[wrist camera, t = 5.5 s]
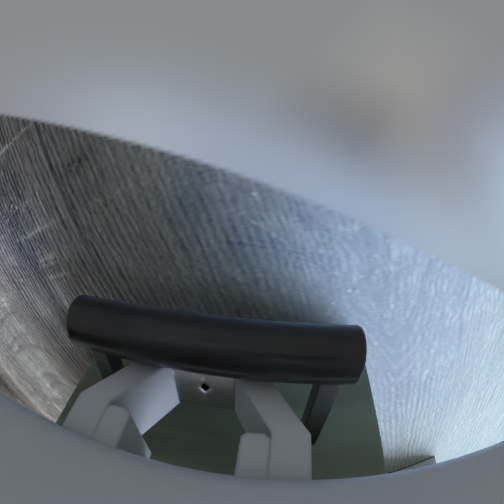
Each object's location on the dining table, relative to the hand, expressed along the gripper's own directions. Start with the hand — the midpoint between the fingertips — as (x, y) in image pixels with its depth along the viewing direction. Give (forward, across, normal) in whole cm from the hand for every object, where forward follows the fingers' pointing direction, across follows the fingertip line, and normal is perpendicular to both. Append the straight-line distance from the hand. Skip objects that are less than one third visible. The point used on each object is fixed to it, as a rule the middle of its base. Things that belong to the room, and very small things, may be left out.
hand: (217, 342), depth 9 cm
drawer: (+3, 0, +7) cm, 7 cm away
